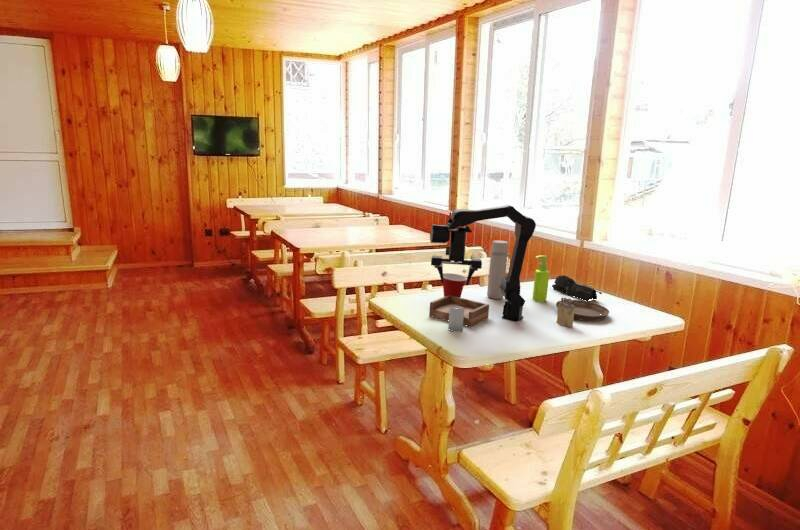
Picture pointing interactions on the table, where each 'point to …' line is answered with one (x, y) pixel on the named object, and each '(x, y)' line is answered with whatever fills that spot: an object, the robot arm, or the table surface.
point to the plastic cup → (453, 284)
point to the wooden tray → (472, 309)
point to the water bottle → (497, 268)
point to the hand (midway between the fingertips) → (454, 284)
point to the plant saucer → (588, 310)
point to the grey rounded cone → (456, 318)
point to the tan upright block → (565, 312)
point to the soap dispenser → (541, 280)
